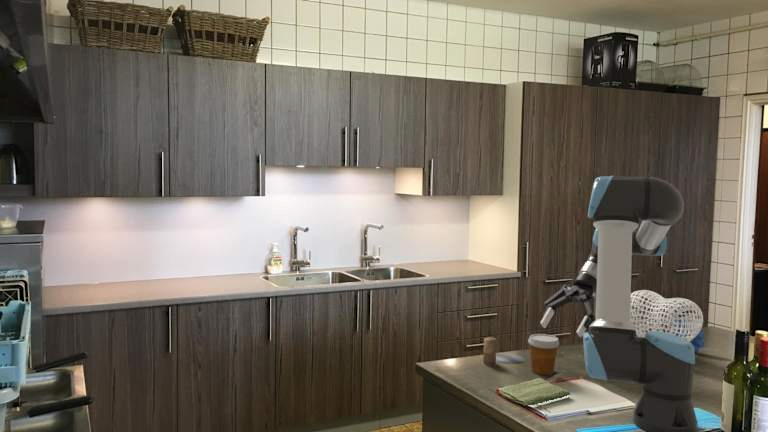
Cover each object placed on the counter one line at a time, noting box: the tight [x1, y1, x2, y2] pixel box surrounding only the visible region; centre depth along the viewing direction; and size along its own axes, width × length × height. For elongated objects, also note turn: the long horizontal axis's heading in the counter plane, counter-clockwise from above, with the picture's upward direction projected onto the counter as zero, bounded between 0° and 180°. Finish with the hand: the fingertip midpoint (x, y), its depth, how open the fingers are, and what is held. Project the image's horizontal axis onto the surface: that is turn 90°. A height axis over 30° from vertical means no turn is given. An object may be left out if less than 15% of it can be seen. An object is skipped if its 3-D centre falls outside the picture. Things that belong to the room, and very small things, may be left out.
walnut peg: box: [482, 336, 498, 366], centre depth 211 cm, size 4×4×8 cm
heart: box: [630, 289, 704, 342], centre depth 226 cm, size 28×16×22 cm, turn 29°
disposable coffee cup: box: [527, 333, 560, 379], centre depth 204 cm, size 10×10×12 cm
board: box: [481, 353, 527, 367], centre depth 215 cm, size 20×12×1 cm, turn 140°
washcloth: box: [497, 377, 571, 407], centre depth 186 cm, size 13×18×3 cm
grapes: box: [672, 319, 706, 354], centre depth 234 cm, size 12×7×12 cm, turn 45°
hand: (560, 330), depth 210 cm, fingers open, 13 cm apart
